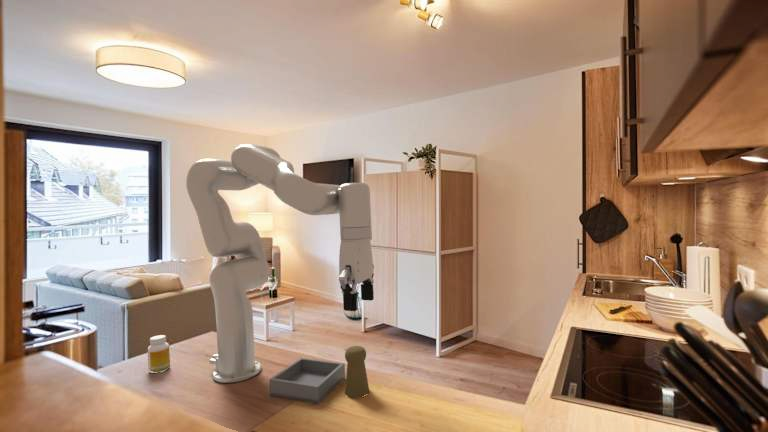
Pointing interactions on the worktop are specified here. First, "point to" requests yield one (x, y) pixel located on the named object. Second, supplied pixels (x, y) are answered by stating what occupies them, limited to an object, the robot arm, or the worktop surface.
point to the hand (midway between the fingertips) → (359, 305)
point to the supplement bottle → (158, 354)
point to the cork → (356, 372)
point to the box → (307, 380)
